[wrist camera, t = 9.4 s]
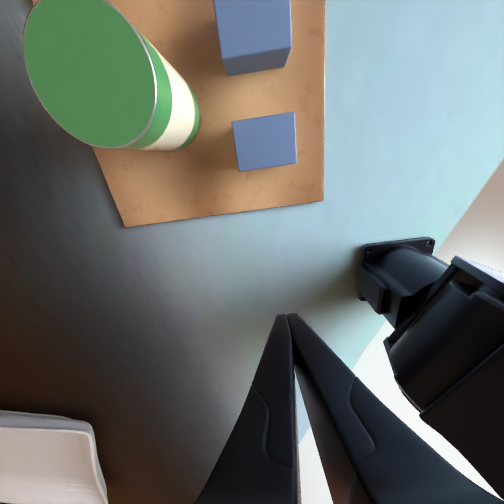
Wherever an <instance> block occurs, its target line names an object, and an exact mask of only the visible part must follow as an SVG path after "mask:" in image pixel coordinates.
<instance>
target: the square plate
mask: <svg viewBox="0 0 504 504" xmlns="http://www.w3.org/2000/svg"><path fill="white" fill-rule="evenodd" d="M0 502H4V503H14V504H108V499H107V492H106V485H105V480H104V477H103V474H102V471H101V468H100V464H99V461H98V456H97V451H96V442H95V436H94V432H93V428H92V426H91V425H90V424H89V423H88V422H85V421H80V420H74V419H71V418H68V417H63V416H57V415H47V414H36V413H25V412H14V411H3V410H0Z"/></svg>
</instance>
